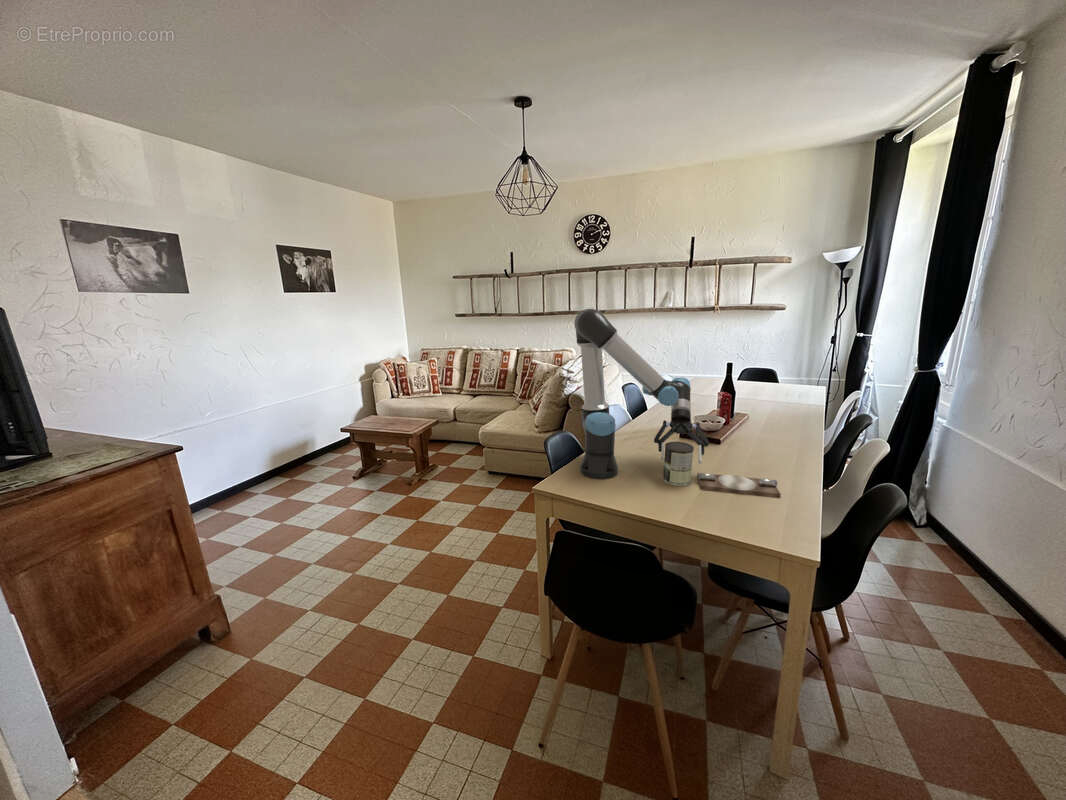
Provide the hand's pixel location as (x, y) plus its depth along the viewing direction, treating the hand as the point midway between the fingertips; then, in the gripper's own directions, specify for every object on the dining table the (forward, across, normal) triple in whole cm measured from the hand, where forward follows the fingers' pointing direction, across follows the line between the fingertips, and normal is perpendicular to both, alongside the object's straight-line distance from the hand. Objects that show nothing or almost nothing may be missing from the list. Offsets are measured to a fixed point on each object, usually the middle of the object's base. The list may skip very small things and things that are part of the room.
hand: (681, 460), depth 156 cm
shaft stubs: (+5, -20, -4) cm, 21 cm away
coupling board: (+6, -20, -5) cm, 21 cm away
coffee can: (+6, +1, -6) cm, 8 cm away
